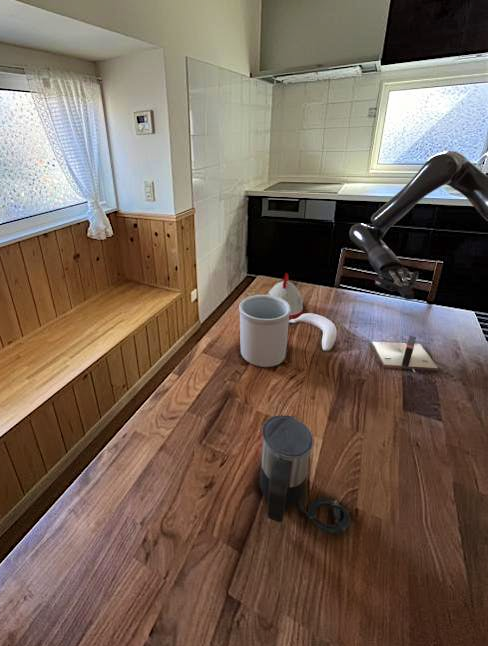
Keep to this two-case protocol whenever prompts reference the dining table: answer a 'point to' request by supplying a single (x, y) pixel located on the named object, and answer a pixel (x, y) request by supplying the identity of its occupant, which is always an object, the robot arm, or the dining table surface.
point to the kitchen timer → (289, 296)
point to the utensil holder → (264, 329)
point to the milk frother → (292, 473)
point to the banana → (323, 324)
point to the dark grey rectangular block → (408, 351)
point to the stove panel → (394, 355)
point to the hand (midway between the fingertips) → (410, 297)
